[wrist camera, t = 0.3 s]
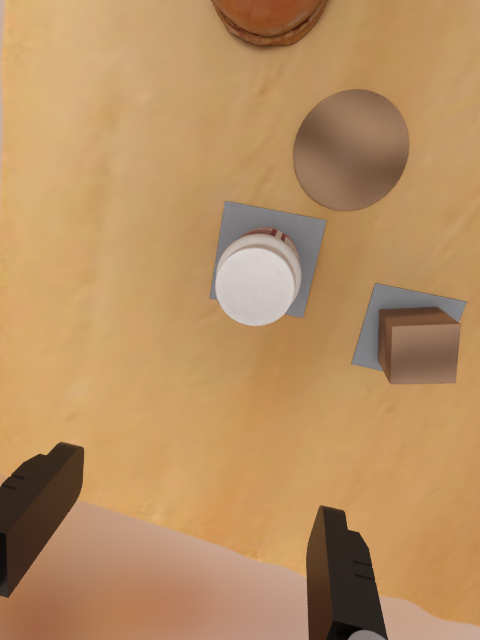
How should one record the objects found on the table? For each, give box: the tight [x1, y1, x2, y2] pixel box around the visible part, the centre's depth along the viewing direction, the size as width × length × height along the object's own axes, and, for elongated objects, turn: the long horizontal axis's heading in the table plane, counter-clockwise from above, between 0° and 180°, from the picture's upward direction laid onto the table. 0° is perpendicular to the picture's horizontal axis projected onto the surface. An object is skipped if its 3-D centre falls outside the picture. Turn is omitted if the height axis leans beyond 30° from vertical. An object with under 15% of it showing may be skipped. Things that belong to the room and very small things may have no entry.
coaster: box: [294, 90, 409, 211], centre depth 32 cm, size 9×9×1 cm
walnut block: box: [378, 307, 461, 384], centre depth 33 cm, size 5×5×5 cm
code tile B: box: [352, 283, 466, 371], centre depth 36 cm, size 8×8×1 cm
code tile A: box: [210, 201, 327, 318], centre depth 35 cm, size 9×9×1 cm
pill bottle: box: [215, 227, 301, 326], centre depth 30 cm, size 6×6×11 cm
